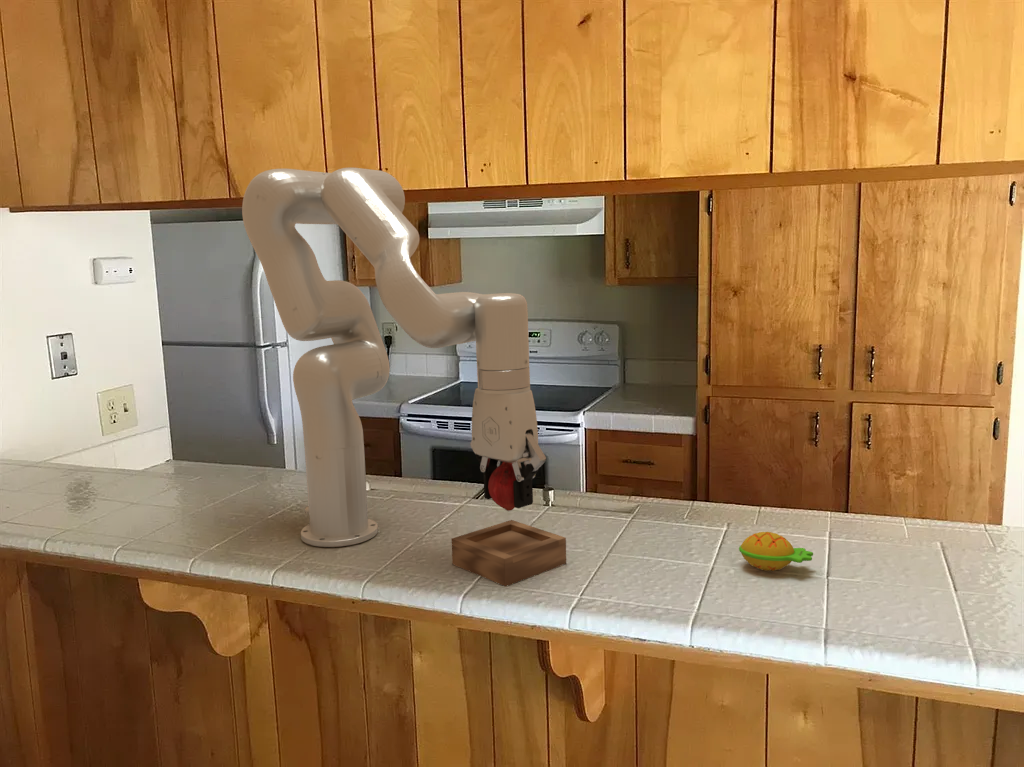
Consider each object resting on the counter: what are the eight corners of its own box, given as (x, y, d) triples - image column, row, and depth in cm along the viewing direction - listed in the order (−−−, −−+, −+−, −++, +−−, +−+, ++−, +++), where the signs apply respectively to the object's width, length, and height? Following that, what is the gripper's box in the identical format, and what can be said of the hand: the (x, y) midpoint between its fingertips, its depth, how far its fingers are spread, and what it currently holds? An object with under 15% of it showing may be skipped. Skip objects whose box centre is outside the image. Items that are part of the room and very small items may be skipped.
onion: (524, 517, 121) (522, 462, 119) (485, 516, 122) (482, 462, 121) (531, 505, 126) (529, 453, 125) (494, 504, 127) (492, 452, 126)
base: (452, 564, 126) (451, 538, 125) (512, 544, 134) (511, 519, 133) (505, 586, 117) (504, 559, 116) (566, 563, 125) (565, 537, 124)
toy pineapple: (742, 557, 125) (743, 522, 125) (814, 566, 121) (815, 530, 121) (735, 574, 119) (735, 537, 118) (810, 583, 115) (811, 546, 114)
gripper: (446, 378, 125) (452, 496, 128) (525, 389, 112) (529, 519, 115) (485, 372, 130) (489, 485, 133) (564, 382, 117) (568, 507, 120)
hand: (508, 500), depth 124 cm, fingers closed on onion, 5 cm apart
